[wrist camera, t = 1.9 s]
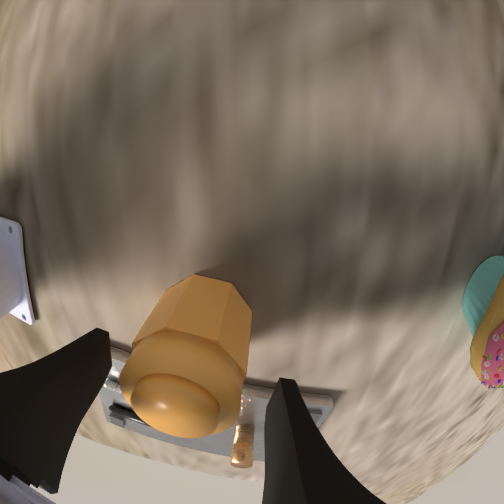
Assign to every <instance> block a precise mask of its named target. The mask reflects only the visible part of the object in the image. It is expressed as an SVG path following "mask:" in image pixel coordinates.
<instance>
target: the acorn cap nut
mask: <svg viewBox="0 0 504 504" xmlns="http://www.w3.org/2000/svg"><path fill="white" fill-rule="evenodd" d="M251 322H252V311H251V309H250V308H249V306H248V305H247V304H246V302H245V301H244V299H243V298H242V297H241V295H240V294H239V293H238V291H237V290H236V288H235V287H234V286H233V284H232V283H229V282H225V281H221V280H216V279H212V278H208V277H204V276H200V275H196V274H193V275H192V276H190V277H188V278H186V279H185V280H183V281H181V282H180V283H178V284H176V285H175V286H173V287H171V288H169V289H168V290H166V291H165V293H164V294H163V296H162V297H161V299H160V300H159V302H158V303H157V305H156V306H155V308H154V310H153V311H152V313H151V314H150V316H149V317H148V319H147V320H146V322H145V323H144V325H143V327H142V328H141V330H140V331H139V333H138V334H137V336H136V338H135V339H134V341H133V342H132V353H131V355H130V357H129V358H128V360H127V362H126V364H125V365H124V367H123V369H122V370H121V373H120V375H119V386H120V390H121V392H122V395H123V396H124V398H125V400H126V401H127V402H128V404H129V405H130V406H131V407H132V408H133V410H134V411H135V413H136V414H137V415H138V416H139V417H140V418H141V419H142V420H143V421H144V422H145V423H147V424H148V425H150V426H151V427H153V428H155V429H157V430H159V431H161V432H163V433H166V434H169V435H172V436H176V437H182V438H201V437H205V436H208V435H212V434H216V433H220V432H223V431H225V430H227V429H229V428H230V427H231V426H233V425H234V424H235V422H236V421H237V419H238V417H239V413H240V404H241V395H242V386H243V383H244V380H245V377H246V374H247V365H248V354H249V344H250V333H251Z"/></svg>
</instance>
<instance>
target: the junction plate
mask: <svg viewBox="0 0 504 504" xmlns="http://www.w3.org/2000/svg"><path fill="white" fill-rule="evenodd" d="M110 349H111V358H112V368H111V370H110V372H109V375H108V377H107V379H106V381H105V383H104V385H103V387H102V388H101V390H100V391H99V393H100V397H101V401H102V405H103V409H104V412H105V416H106V419H107V421H108V422H111V423H113V424H115V425H118V426H121V427H123V428H126V429H128V430H131V431H134V432H137V433H140V434H142V435H145V436H148V437H152V438H155V439H158V440H161V441H165V442H168V443H172V444H175V445H179V446H183V447H187V448H191V449H195V450H199V451H204V452H208V453H213V454H218V455H224V456H230V457H231V463H230V464H231V465H232V466H234V467H237V468H249V467H251V466H252V465H253V460H258V461H265V447H264V424H265V414H266V406H267V404H268V402H269V400H270V398H271V396H272V394H273V391H274V389H273V388H267V387H261V386H255V385H250V384H245V383H243V386H242V395H241V404H240V413H239V417H238V419H237V421H236V422H235V424H234V425H233V426H231V427H230V428H229V429H227V430H225V431H223V432H220V433H216V434H212V435H208V436H205V437H201V438H182V437H176V436H172V435H169V434H166V433H163V432H161V431H159V430H157V429H155V428H153V427H151V426H150V425H148V424H147V423H145V422H144V421H143V420H142V419H141V418H140V417H139V416H138V415H137V414H136V413H135V411H134V410H133V408H132V407H131V406H130V405H129V404H128V402H127V401H126V400H125V398H124V396H123V395H122V392H121V390H120V386H119V375H120V373H121V370H122V369H123V367H124V365H125V364H126V362H127V360H128V358H129V357H130V355H131V353H129V352H126V351H123V350H121V349H118V348H115V347H112V346H110ZM300 393H301V395H302V398H303V400H304V402H305V404H306V406H307V408H308V410H309V412H310V414H311V416H312V418H313V420H314V422H315V424H316V426H317V428H319V426H320V425H321V424H322V422H323V421H324V420H325V418H326V417H327V415H328V414H329V413H330V411H331V410H332V408H333V407H334V404H333V400H332V395H321V394H311V393H302V392H300Z"/></svg>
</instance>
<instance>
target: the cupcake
mask: <svg viewBox="0 0 504 504" xmlns="http://www.w3.org/2000/svg"><path fill="white" fill-rule="evenodd" d="M463 311H464V314H465V317H466V319H467V321H468V324H469V326H470V329H471V332H472V335H473V339H472V343H471V347H470V355H471V359H470V364H471V367H472V369H473V370H474V372H475V374H476V375H477V377H478V378H479V380H480V381H481V383H483V384H484V385H485V386H486V387H487V389H490V386H491V387H492V388H495V387H496V388H500V387H501V388H503V387H504V256H492V257H490V258H488V259H486V260H485V261H484V262H483V263H481V264H480V266H479V267H478V268H477V269H476V270H475V272H474V273H473V275H472V277H471V278H470V280H469V282H468V284H467V287H466V290H465V293H464V298H463Z"/></svg>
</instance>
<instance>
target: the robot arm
mask: <svg viewBox="0 0 504 504" xmlns="http://www.w3.org/2000/svg"><path fill="white" fill-rule="evenodd" d="M8 313H11V314H13V315H14V316H16V317H18V318H19V319H21V320H23V321H24V322H26V323H28V324H30V325H32V324H33V323H34V322H35V318H34V313H33V309H32V304H31V299H30V294H29V288H28V282H27V275H26V268H25V259H24V250H23V237H22V228H21V225H20V224H19V223H18V222H15V221H12V220H9V219H6V218H3V217H0V320H1V319H2V318H3V317H5V316H6V315H7V314H8ZM111 368H112V358H111V349H110V339H109V332H107V331H104V330H102V329H99V328H95V329H94V330H92V331H90V332H88V333H87V334H85V335H83V336H82V337H80V338H78V339H77V340H75V341H73V342H71V343H70V344H68V345H66V346H64V347H63V348H61V349H59V350H57V351H55V352H53V353H51V354H49V355H47V356H45V357H43V358H41V359H39V360H37V361H35V362H33V363H30V364H27V365H25V366H22V367H19V368H16V369H13V370H9V371H5V372H2V373H0V504H56V503H54V502H52V501H51V500H49V499H48V498H46V497H44V496H43V495H41V494H40V493H38V492H37V491H35V490H33V489H32V488H31V487H29V486H30V484H32V485H33V486H35V487H36V488H38V487H41V488H42V489H44V490H45V491H47V492H49V493H50V494H54V493H57V492H58V488H59V483H60V479H61V475H62V470H63V467H64V464H65V461H66V457H67V454H68V451H69V449H70V446H71V443H72V441H73V438H74V436H75V434H76V431H77V429H78V427H79V425H80V423H81V421H82V419H83V417H84V416H85V414H86V412H87V411H88V409H89V408H90V406H91V404H92V403H93V401H94V400H95V398H96V396H97V395H98V393H99V391H100V390H101V388H102V387H103V385H104V383H105V381H106V379H107V377H108V375H109V372H110V370H111ZM264 447H265V482H264V492H263V500H262V504H386V503H385V502H383V501H382V500H380V499H379V498H378V497H376V496H375V495H373V494H372V493H371V492H370V491H369V490H367V489H366V488H365V487H364V486H363V485H362V484H361V483H360V482H359V481H358V480H357V479H356V478H355V477H354V476H353V475H352V474H351V473H350V472H349V471H348V470H347V469H346V468H345V467H344V465H343V464H342V463H341V462H340V460H339V459H338V458H337V457H336V455H335V454H334V453H333V451H332V450H331V448H330V447H329V445H328V444H327V442H326V441H325V439H324V438H323V436H322V434H321V433H320V431H319V429H318V428H317V426H316V424H315V422H314V420H313V418H312V416H311V414H310V412H309V410H308V408H307V406H306V404H305V402H304V400H303V398H302V395H301V393H300V391H299V388H298V386H297V383H296V381H295V380H293V379H286V378H279V380H278V383H277V385H276V387H275V389H274V391H273V394H272V396H271V398H270V400H269V402H268V404H267V406H266V414H265V424H264Z"/></svg>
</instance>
